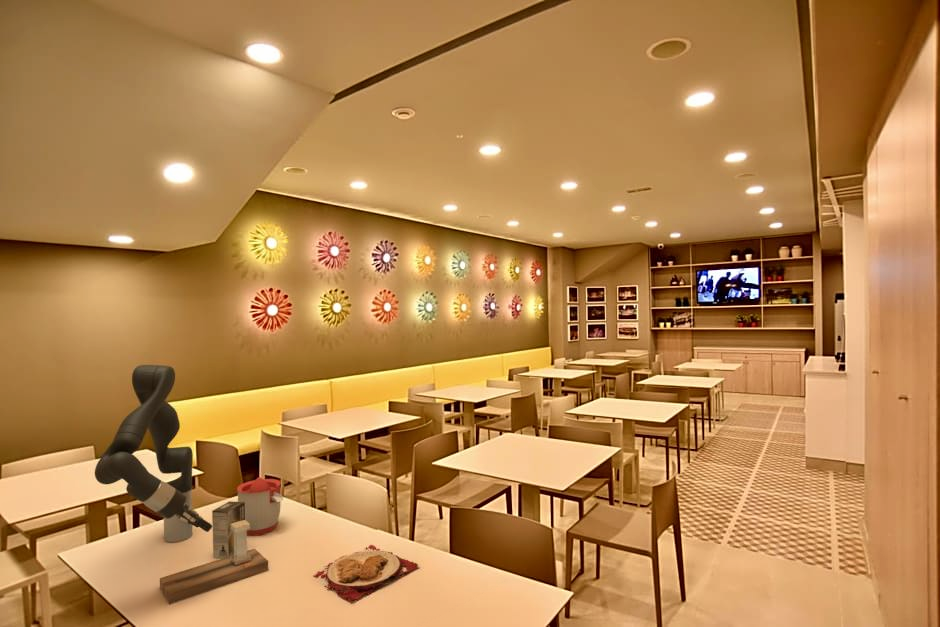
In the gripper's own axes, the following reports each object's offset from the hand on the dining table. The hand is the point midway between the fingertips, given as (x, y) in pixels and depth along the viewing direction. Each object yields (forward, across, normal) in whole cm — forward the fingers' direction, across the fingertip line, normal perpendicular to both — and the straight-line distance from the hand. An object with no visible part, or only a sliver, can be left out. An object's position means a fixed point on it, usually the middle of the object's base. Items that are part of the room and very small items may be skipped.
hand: (209, 528), depth 157 cm
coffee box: (+19, +16, +4) cm, 25 cm away
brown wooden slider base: (+12, 0, +10) cm, 16 cm away
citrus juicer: (+30, +27, -6) cm, 41 cm away
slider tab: (+15, 0, +3) cm, 16 cm away
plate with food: (+38, -28, -14) cm, 49 cm away
